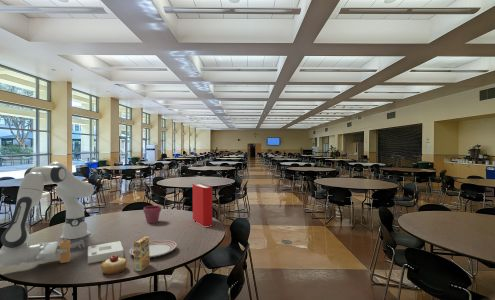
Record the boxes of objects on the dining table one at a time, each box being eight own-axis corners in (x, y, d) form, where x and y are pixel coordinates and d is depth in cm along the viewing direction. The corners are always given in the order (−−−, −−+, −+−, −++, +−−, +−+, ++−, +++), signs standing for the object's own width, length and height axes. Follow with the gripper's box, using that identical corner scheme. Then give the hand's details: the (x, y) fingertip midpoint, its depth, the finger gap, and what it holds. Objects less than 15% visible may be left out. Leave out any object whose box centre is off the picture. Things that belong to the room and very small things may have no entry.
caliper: (84, 248, 175) (84, 238, 175) (84, 248, 174) (84, 238, 174) (44, 255, 164) (44, 244, 164) (44, 255, 163) (44, 245, 163)
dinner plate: (119, 260, 156) (119, 254, 156) (144, 243, 183) (144, 238, 183) (165, 262, 152) (165, 256, 152) (183, 245, 180) (183, 240, 180)
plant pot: (152, 219, 245) (152, 204, 245) (164, 220, 239) (164, 206, 239) (140, 223, 232) (139, 208, 232) (152, 225, 226) (152, 209, 226)
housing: (88, 252, 167) (87, 245, 167) (120, 247, 176) (120, 240, 176) (87, 263, 151) (87, 255, 151) (123, 256, 160) (123, 249, 160)
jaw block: (60, 260, 154) (60, 237, 154) (70, 258, 157) (70, 236, 156) (60, 263, 150) (60, 239, 150) (69, 261, 153) (69, 238, 153)
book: (192, 220, 241) (192, 183, 241) (201, 218, 245) (201, 183, 245) (203, 227, 218) (203, 187, 217) (213, 226, 222) (212, 187, 221)
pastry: (125, 264, 150) (126, 248, 151) (127, 273, 140) (127, 255, 140) (100, 268, 145) (101, 251, 145) (100, 277, 134) (101, 259, 135)
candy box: (141, 271, 141) (140, 242, 141) (133, 271, 141) (133, 241, 141) (149, 264, 150) (149, 236, 149) (142, 264, 150) (142, 236, 150)
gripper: (33, 253, 138) (65, 248, 145) (39, 241, 156) (68, 237, 163) (33, 266, 138) (65, 260, 145) (39, 252, 156) (68, 248, 163)
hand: (67, 248), depth 154 cm, fingers closed on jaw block, 4 cm apart
